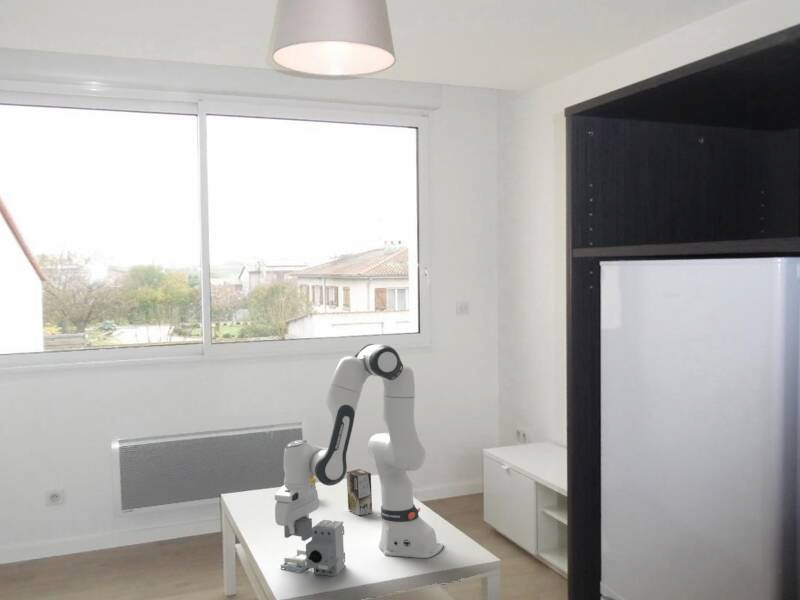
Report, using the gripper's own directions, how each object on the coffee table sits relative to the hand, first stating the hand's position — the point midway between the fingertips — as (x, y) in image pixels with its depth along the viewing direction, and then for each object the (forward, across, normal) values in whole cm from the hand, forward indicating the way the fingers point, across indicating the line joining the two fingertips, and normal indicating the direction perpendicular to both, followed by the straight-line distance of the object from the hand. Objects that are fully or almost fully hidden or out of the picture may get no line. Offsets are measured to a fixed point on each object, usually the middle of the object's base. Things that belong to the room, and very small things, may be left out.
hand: (298, 530), depth 245 cm
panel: (+11, -2, 0) cm, 11 cm away
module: (+2, 0, 0) cm, 2 cm away
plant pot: (+11, -57, -37) cm, 69 cm away
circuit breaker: (+11, +3, +12) cm, 17 cm away
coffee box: (+10, -53, -7) cm, 54 cm away
